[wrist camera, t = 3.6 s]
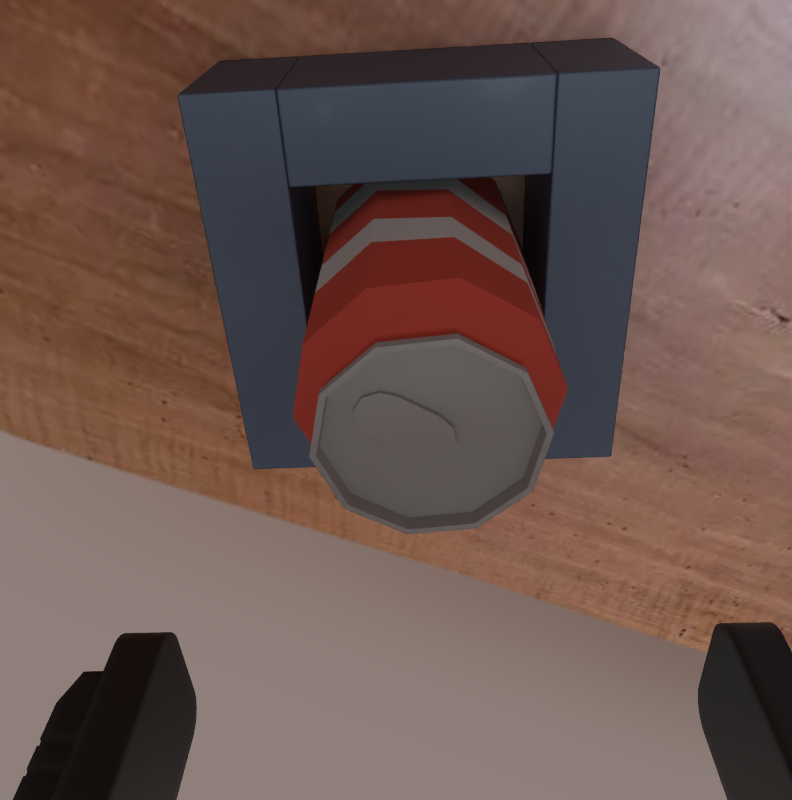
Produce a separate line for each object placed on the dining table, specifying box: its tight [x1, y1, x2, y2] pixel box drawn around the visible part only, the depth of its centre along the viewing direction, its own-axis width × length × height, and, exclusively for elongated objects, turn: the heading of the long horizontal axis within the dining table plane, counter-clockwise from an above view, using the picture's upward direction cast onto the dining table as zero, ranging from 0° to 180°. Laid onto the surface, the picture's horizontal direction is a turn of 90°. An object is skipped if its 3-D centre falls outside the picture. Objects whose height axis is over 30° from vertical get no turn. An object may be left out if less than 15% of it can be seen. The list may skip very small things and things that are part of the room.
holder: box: [177, 38, 660, 469], centre depth 24 cm, size 12×12×5 cm
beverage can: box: [293, 177, 568, 534], centre depth 21 cm, size 6×6×12 cm
